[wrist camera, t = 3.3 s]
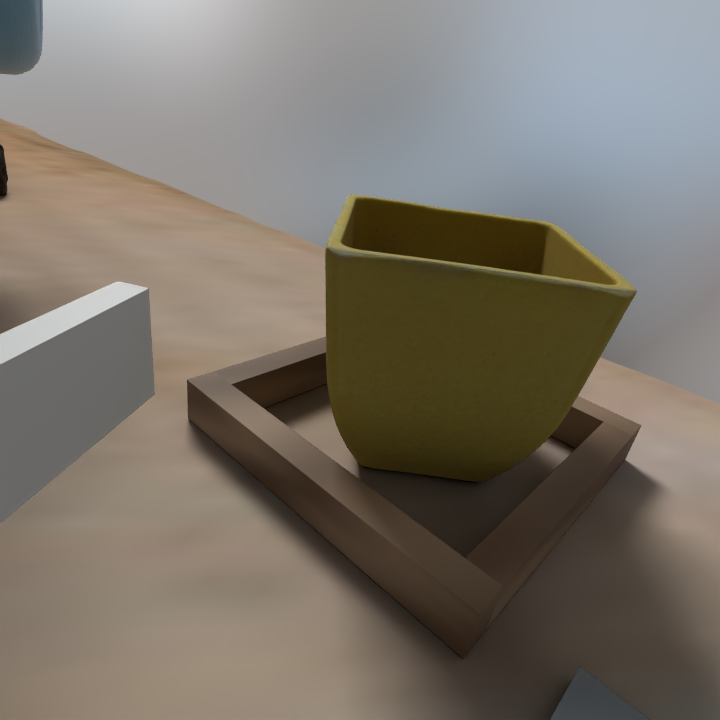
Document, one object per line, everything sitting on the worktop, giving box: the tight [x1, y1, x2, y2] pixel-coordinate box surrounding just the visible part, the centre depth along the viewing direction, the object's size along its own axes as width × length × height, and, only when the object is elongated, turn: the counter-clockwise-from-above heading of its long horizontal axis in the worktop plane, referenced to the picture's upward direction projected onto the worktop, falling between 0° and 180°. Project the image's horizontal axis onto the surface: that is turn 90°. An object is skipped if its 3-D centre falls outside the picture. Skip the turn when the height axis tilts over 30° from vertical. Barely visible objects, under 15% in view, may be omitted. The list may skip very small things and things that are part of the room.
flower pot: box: [325, 195, 637, 482], centre depth 20 cm, size 9×9×9 cm
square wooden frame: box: [187, 337, 641, 658], centre depth 21 cm, size 13×13×2 cm
